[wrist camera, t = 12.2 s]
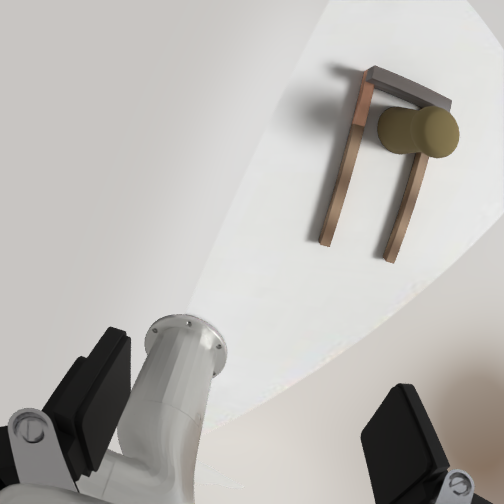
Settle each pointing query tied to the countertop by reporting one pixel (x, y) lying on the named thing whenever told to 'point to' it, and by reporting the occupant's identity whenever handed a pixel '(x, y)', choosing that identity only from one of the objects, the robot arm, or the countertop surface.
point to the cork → (418, 131)
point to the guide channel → (371, 80)
